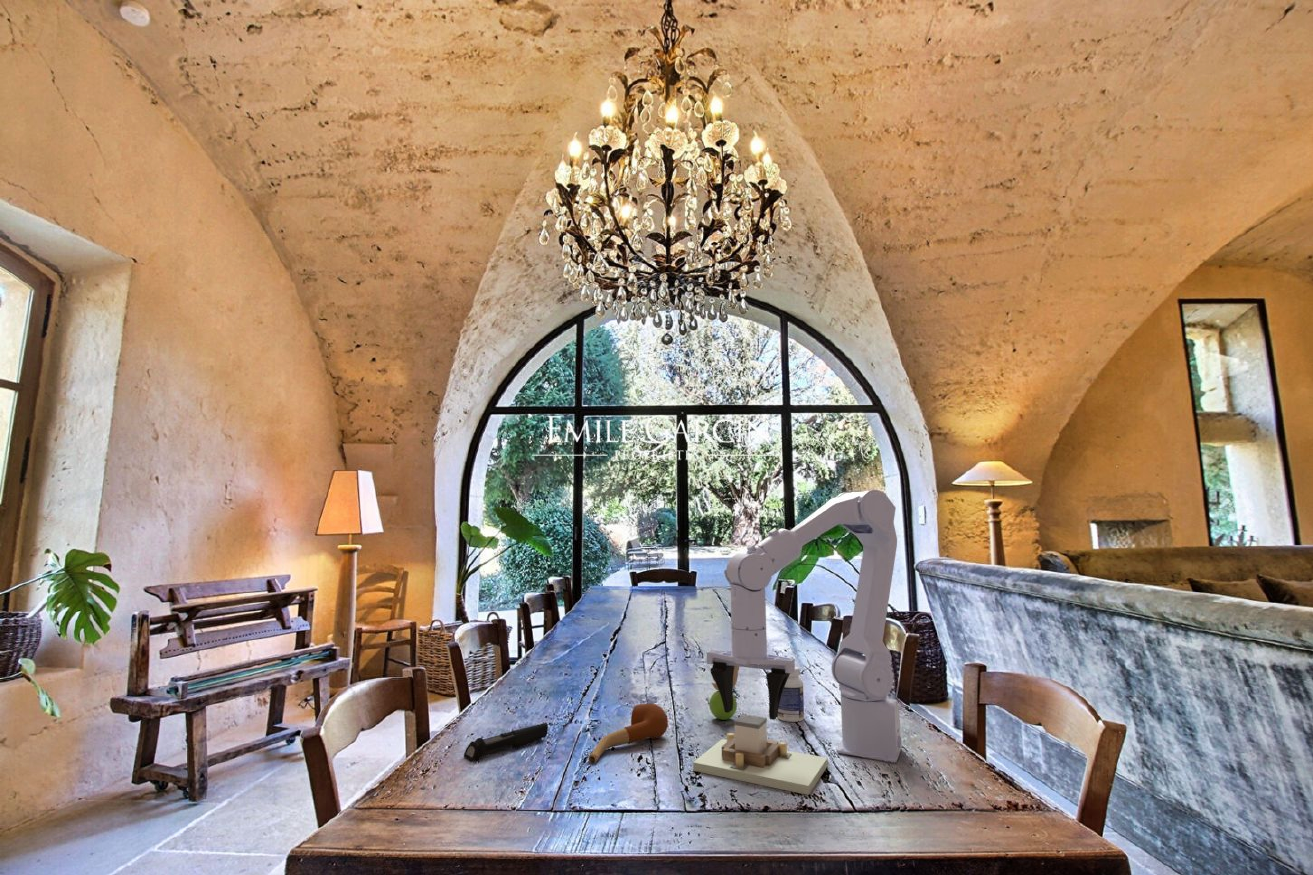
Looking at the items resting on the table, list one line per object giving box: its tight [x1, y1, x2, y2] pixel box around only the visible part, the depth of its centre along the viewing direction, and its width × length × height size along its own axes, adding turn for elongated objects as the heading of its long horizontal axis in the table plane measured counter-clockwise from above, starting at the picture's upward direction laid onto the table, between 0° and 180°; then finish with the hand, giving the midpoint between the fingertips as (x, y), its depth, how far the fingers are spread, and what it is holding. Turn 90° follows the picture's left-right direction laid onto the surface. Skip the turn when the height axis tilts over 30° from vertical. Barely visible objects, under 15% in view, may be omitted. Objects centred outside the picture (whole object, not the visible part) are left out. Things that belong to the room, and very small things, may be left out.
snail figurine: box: [708, 666, 740, 721], centre depth 120 cm, size 5×6×12 cm
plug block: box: [733, 713, 768, 754], centre depth 97 cm, size 4×4×6 cm
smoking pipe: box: [588, 702, 669, 764], centre depth 104 cm, size 7×18×6 cm, turn 149°
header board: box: [692, 732, 829, 796], centre depth 95 cm, size 18×12×3 cm, turn 62°
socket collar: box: [722, 736, 779, 768], centre depth 97 cm, size 8×8×2 cm
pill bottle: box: [777, 666, 805, 723], centre depth 121 cm, size 5×5×10 cm
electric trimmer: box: [463, 722, 549, 763], centre depth 103 cm, size 4×15×3 cm, turn 135°
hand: (750, 714), depth 98 cm, fingers open, 7 cm apart
